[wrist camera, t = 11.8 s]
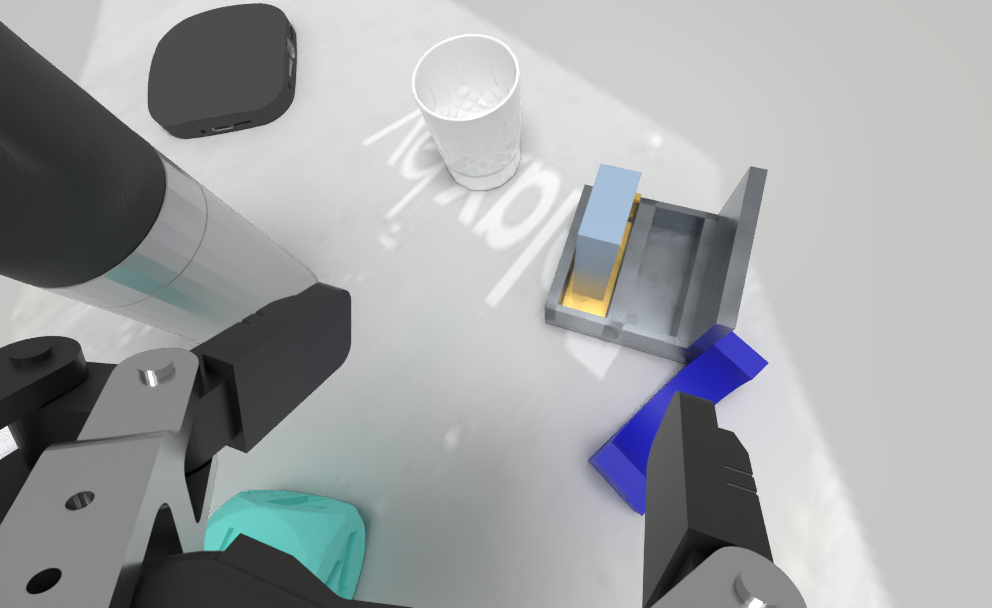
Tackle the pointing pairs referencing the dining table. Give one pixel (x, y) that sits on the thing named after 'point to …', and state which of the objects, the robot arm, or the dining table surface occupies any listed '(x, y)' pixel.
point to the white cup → (472, 107)
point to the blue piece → (632, 443)
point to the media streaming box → (223, 71)
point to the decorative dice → (297, 532)
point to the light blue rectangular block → (603, 229)
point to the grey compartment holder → (666, 275)
